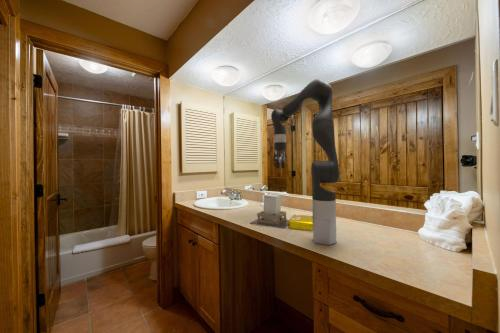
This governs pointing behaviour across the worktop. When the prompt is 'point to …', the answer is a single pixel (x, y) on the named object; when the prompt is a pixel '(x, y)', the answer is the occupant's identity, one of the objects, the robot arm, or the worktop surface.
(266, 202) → the skincare box
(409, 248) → the worktop surface
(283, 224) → the collar guide
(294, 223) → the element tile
